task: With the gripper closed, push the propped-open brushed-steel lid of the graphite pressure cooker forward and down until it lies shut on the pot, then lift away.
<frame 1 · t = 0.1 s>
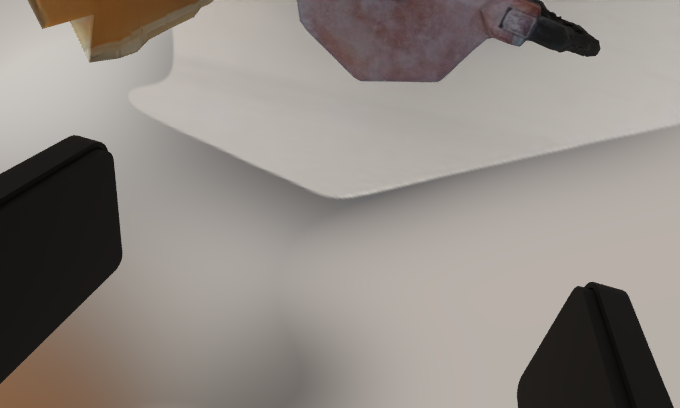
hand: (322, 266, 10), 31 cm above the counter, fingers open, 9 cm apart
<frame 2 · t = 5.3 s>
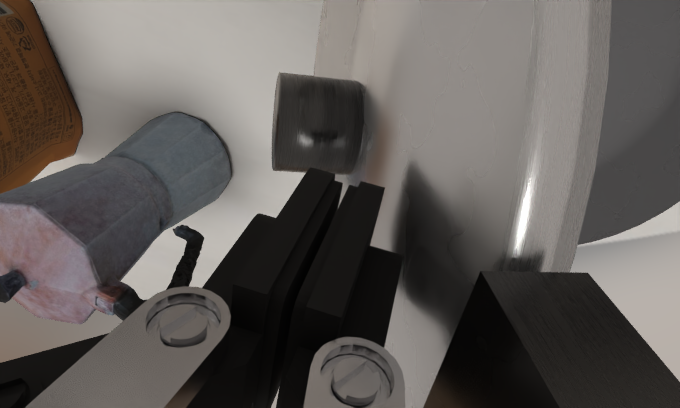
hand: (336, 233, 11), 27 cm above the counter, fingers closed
cooker pot: (519, 36, 33), on the counter
lid: (340, 149, 14), point 23 cm above the counter, hinge at 67.4°, touching gripper
moka pot: (192, 155, 44), on the counter
pancake mix bag: (47, 67, 43), on the counter
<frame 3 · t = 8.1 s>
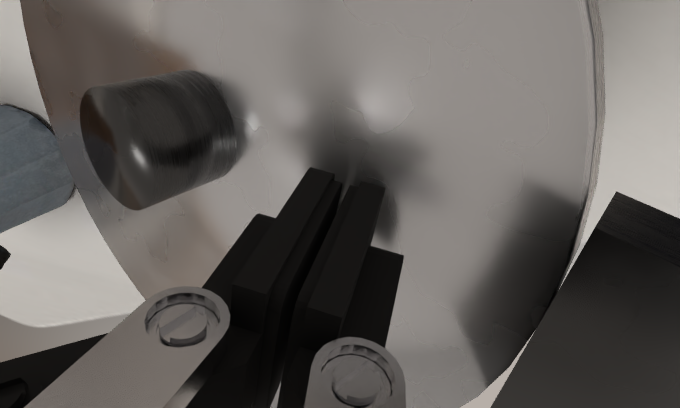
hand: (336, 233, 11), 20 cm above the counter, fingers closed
lid: (217, 155, 12), point 18 cm above the counter, hinge at 24.8°, touching gripper
moka pot: (34, 155, 39), on the counter
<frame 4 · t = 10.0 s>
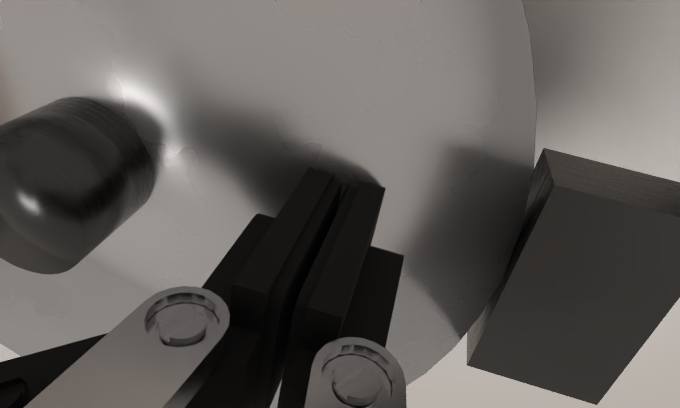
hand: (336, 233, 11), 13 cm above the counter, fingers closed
lid: (139, 188, 11), point 14 cm above the counter, hinge at -0.1°, touching gripper
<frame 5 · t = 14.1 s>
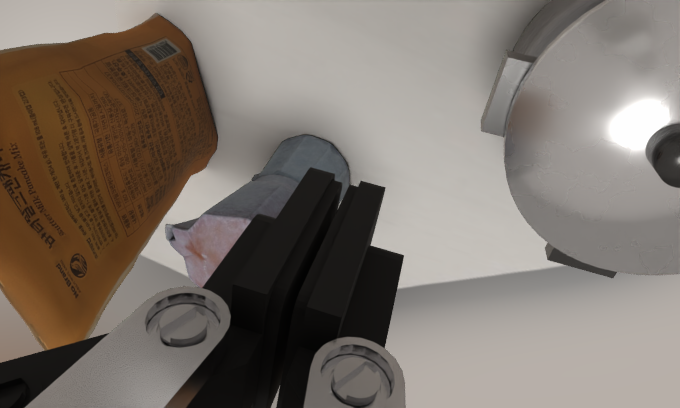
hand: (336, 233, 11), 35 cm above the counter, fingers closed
cooker pot: (618, 82, 40), on the counter
moka pot: (314, 171, 51), on the counter
pancake mix bag: (193, 94, 50), on the counter
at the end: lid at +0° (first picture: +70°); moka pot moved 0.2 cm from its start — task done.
